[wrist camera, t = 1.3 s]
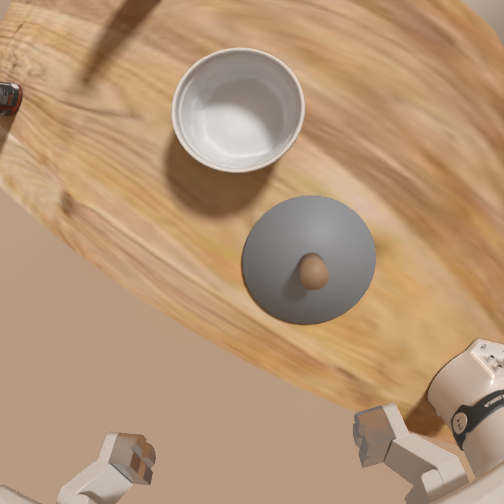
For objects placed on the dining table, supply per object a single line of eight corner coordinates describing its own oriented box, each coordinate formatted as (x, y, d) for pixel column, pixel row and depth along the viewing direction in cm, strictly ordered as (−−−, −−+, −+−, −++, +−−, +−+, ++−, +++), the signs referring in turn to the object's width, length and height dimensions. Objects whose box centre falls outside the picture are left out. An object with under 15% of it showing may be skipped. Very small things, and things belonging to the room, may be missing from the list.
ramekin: (169, 111, 32) (146, 102, 26) (254, 48, 29) (249, 24, 22) (233, 193, 35) (223, 200, 28) (322, 129, 32) (333, 121, 25)
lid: (384, 205, 34) (399, 212, 29) (357, 324, 39) (366, 344, 34) (249, 187, 35) (245, 191, 30) (238, 313, 40) (233, 332, 35)
